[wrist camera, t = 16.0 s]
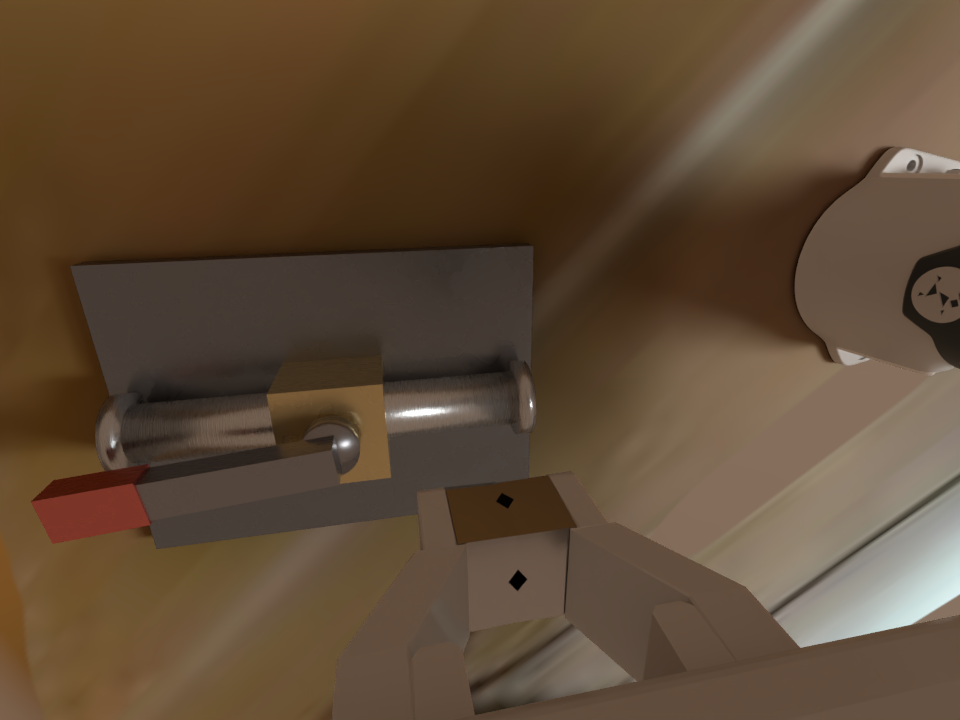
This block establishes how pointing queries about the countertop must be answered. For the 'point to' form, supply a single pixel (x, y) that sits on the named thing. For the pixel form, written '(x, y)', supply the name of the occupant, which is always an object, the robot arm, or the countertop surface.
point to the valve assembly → (317, 371)
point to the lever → (197, 483)
